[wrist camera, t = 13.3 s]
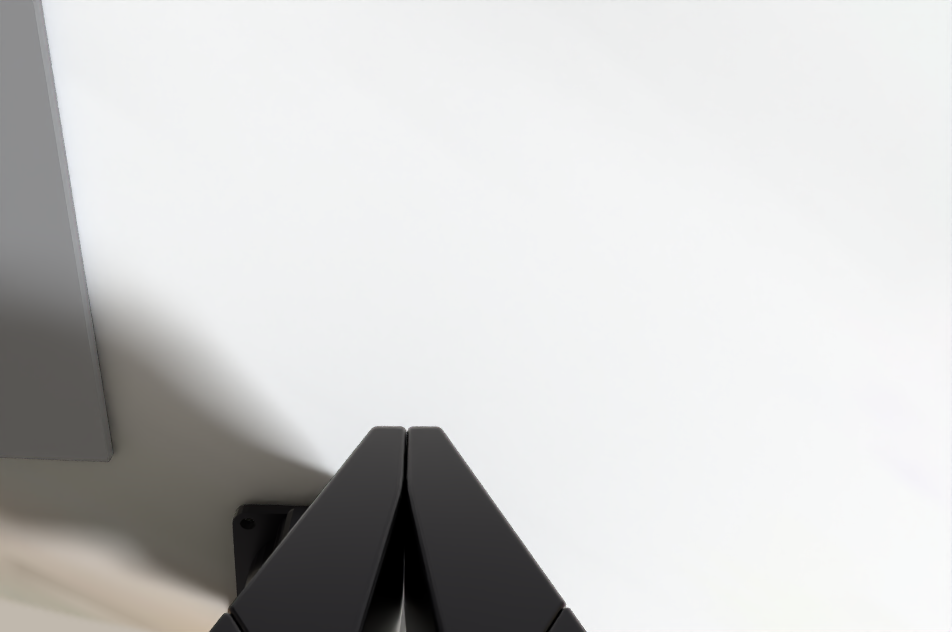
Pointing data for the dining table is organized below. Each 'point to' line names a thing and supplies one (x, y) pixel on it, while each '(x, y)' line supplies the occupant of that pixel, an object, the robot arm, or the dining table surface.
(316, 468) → the dining table surface
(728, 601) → the dining table surface
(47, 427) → the mat
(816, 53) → the dining table surface
